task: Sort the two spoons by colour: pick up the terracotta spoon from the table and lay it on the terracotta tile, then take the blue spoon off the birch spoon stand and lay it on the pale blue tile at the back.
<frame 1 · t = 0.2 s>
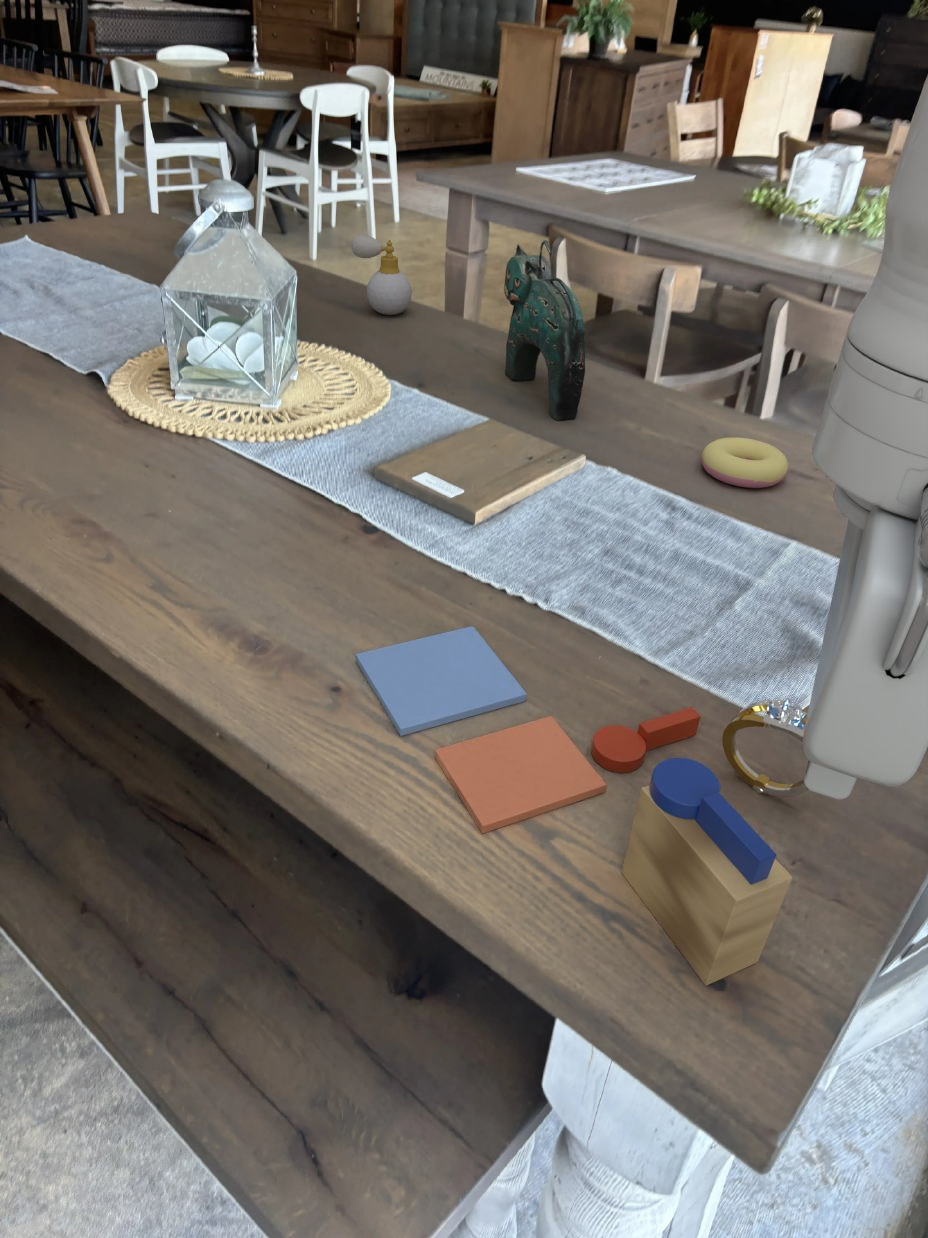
hand: (836, 716, 41), 21 cm above the table, tool pointing down, fingers open, 8 cm apart
donut: (740, 475, 110), on the table
terracotta spoon: (649, 743, 70), on the table
spoon stand: (686, 915, 57), on the table
ceramic cat: (540, 395, 127), on the table
blue spoon: (713, 830, 53), point 8 cm above the table, touching spoon stand
terracotta tile: (518, 774, 67), on the table
perfume bottle: (382, 314, 153), on the table
ring: (758, 790, 67), on the table
blue tile: (439, 680, 75), on the table
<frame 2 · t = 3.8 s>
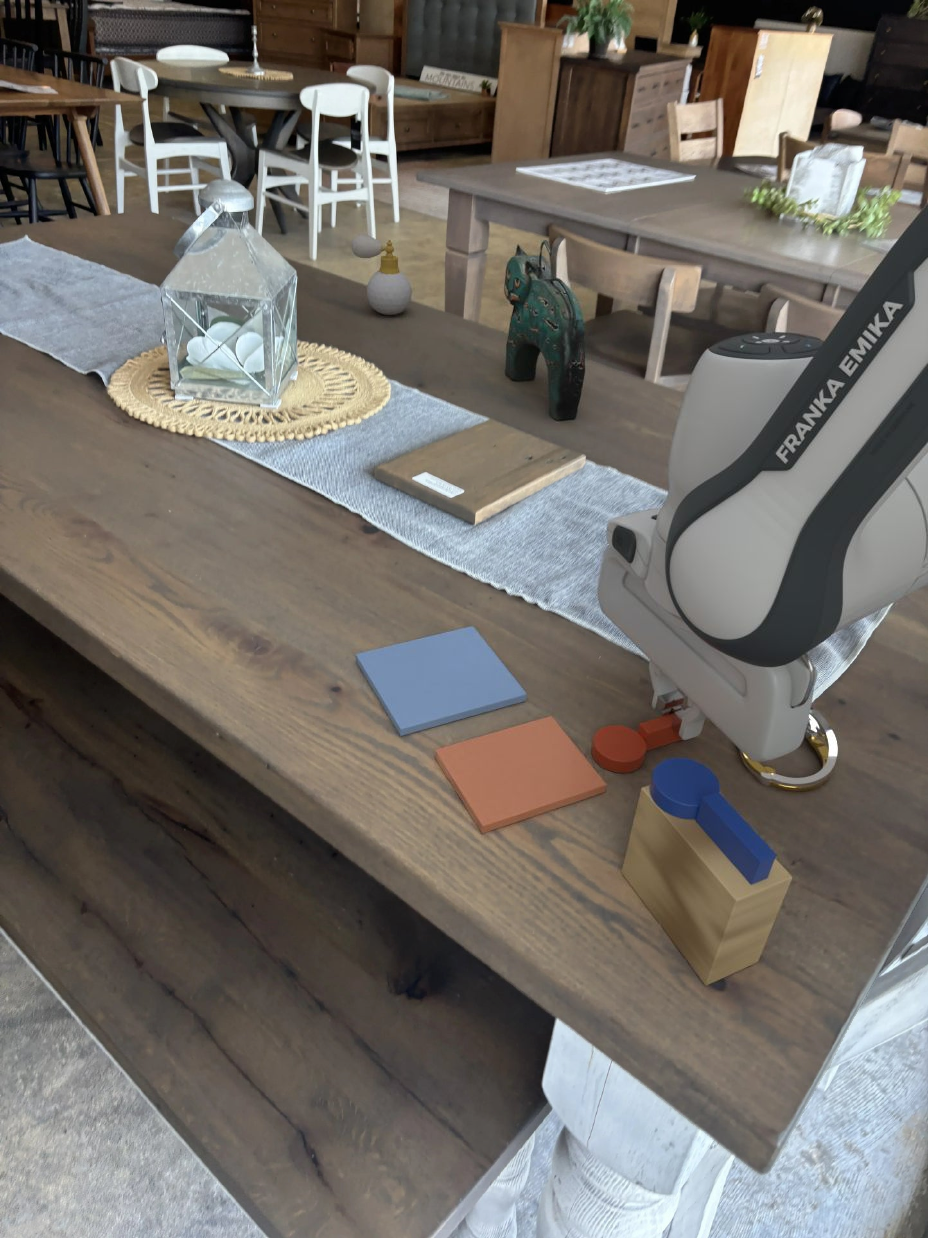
hand: (674, 721, 70), 2 cm above the table, tool pointing down, fingers closed on terracotta spoon, 1 cm apart
terracotta spoon: (650, 743, 70), on the table, touching gripper
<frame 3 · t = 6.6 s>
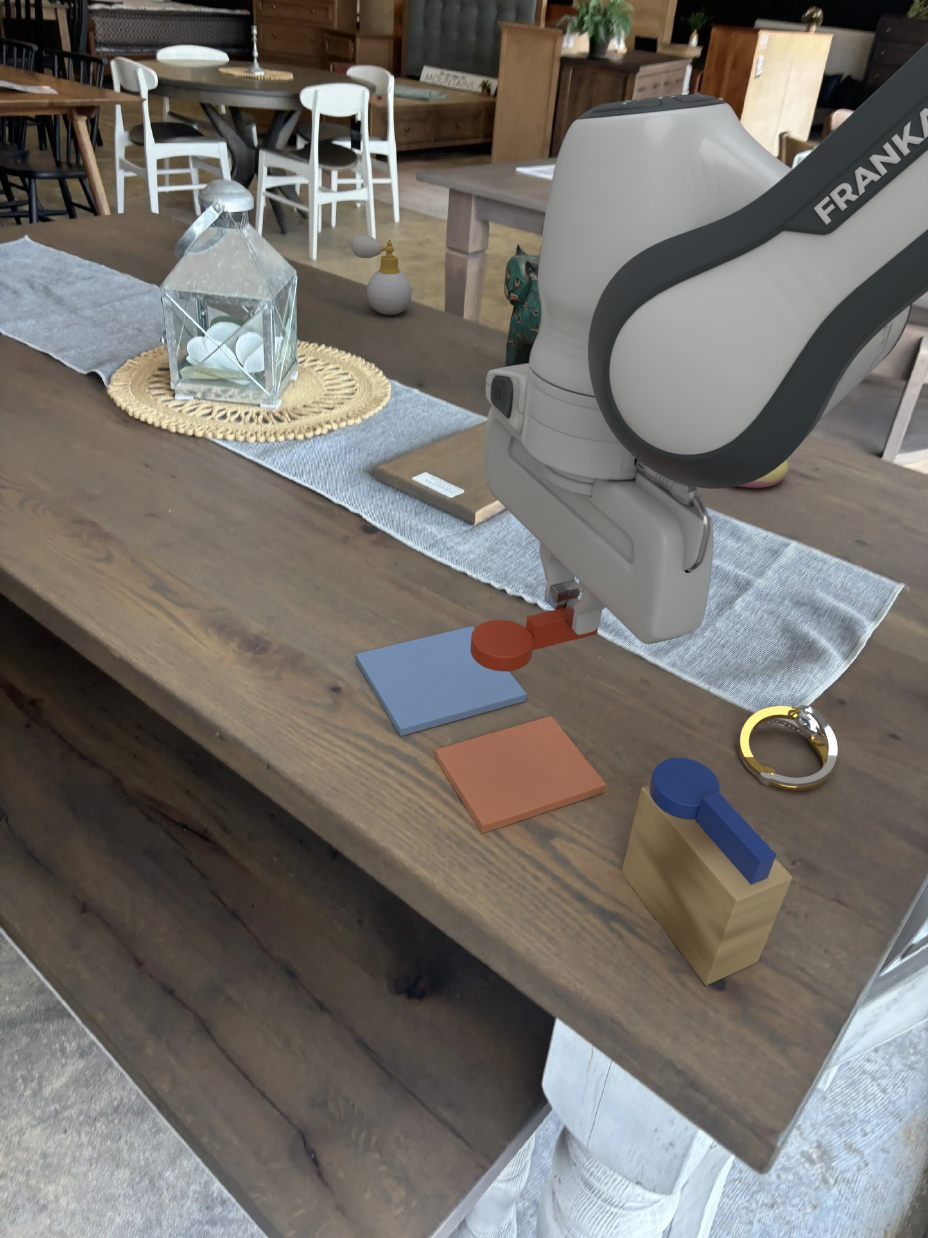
hand: (570, 616, 60), 14 cm above the table, tool pointing down, fingers closed on terracotta spoon
terracotta spoon: (541, 642, 60), point 12 cm above the table, touching gripper
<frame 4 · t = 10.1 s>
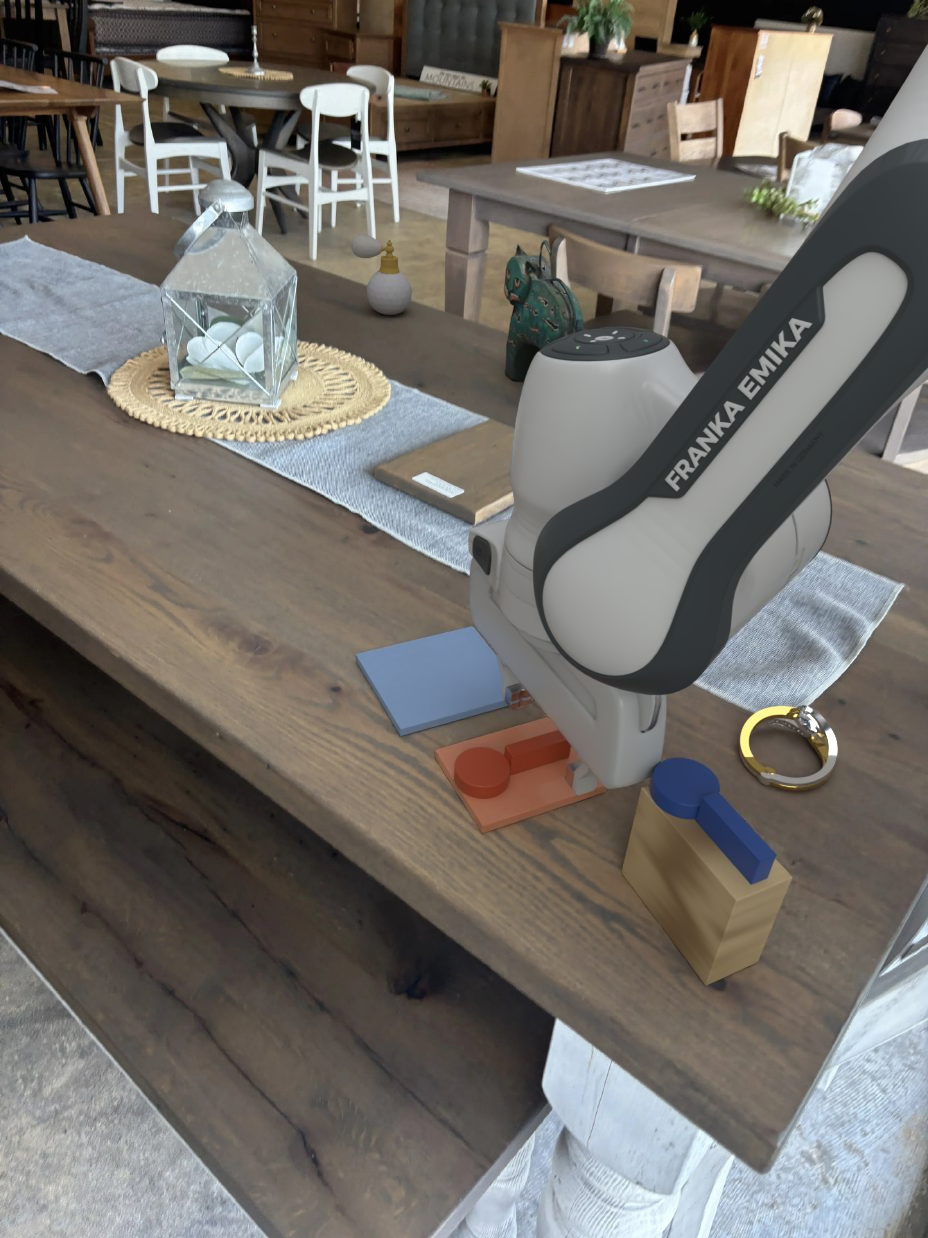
hand: (546, 742, 66), 2 cm above the table, tool pointing down, fingers open, 8 cm apart
terracotta spoon: (518, 767, 66), point 1 cm above the table, touching terracotta tile
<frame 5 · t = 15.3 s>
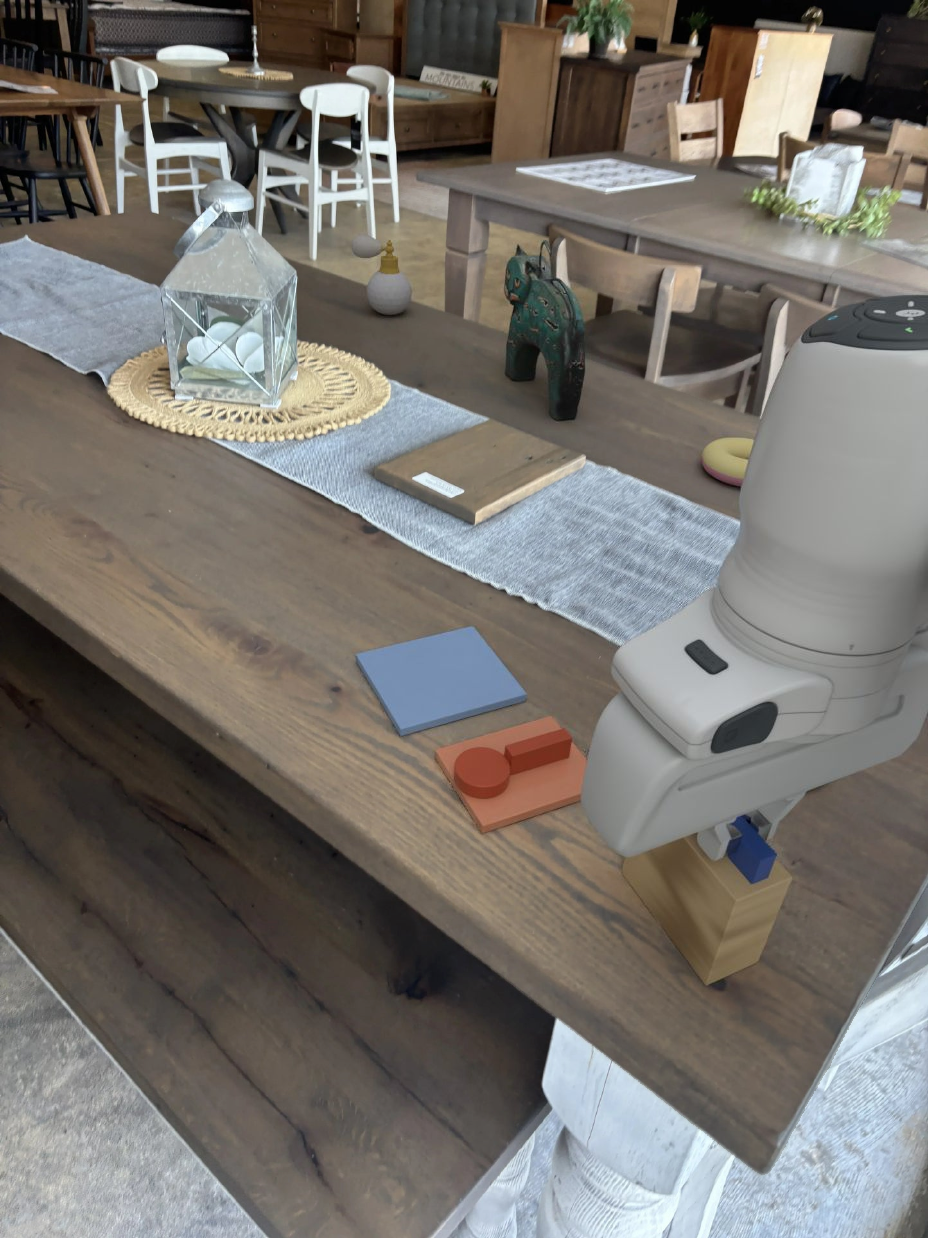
hand: (733, 842, 51), 9 cm above the table, tool pointing down, fingers closed on blue spoon, 1 cm apart
blue spoon: (714, 829, 53), point 8 cm above the table, touching gripper, spoon stand
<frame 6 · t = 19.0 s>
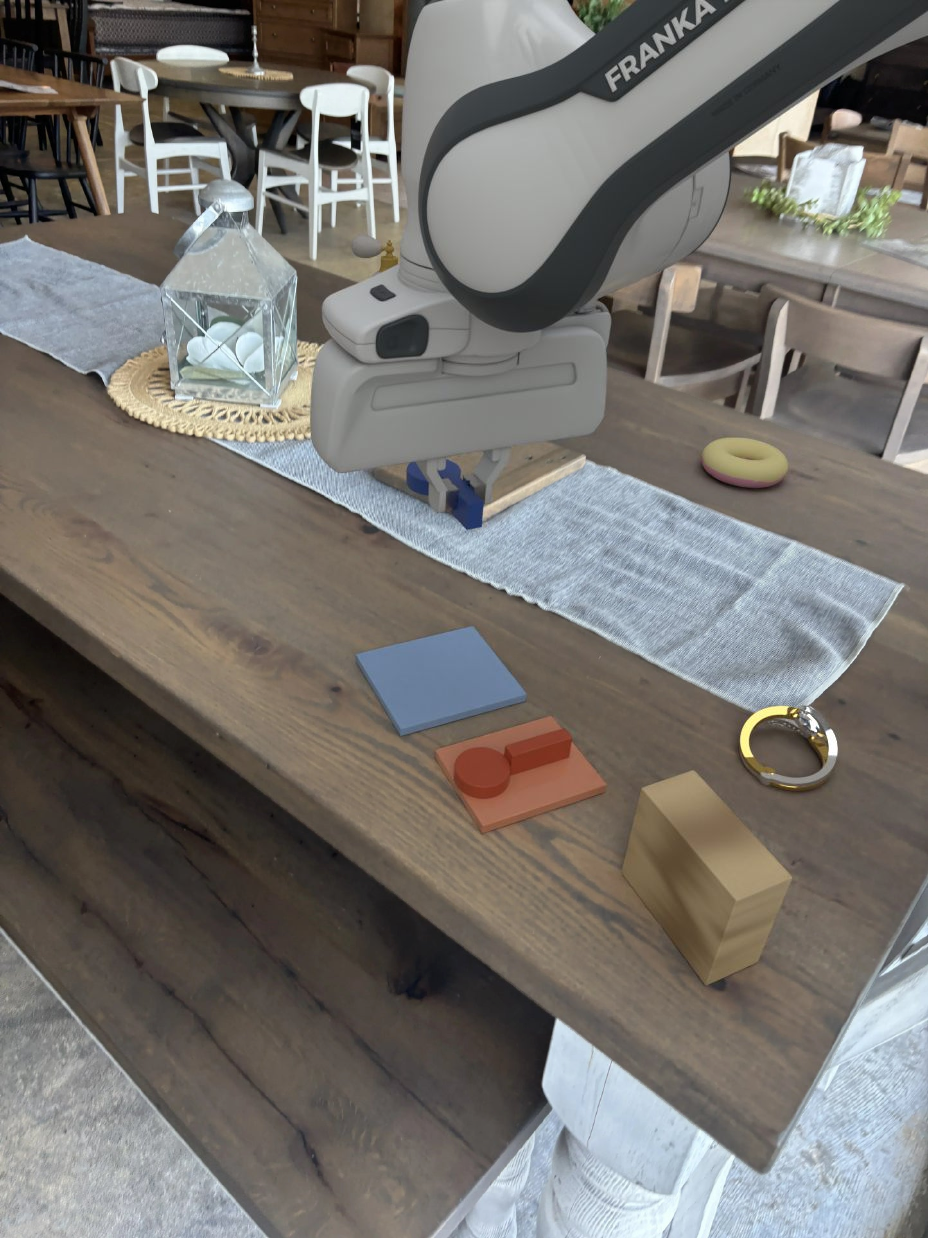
hand: (459, 505, 63), 17 cm above the table, tool pointing down, fingers closed on blue spoon
blue spoon: (450, 502, 65), point 17 cm above the table, touching gripper
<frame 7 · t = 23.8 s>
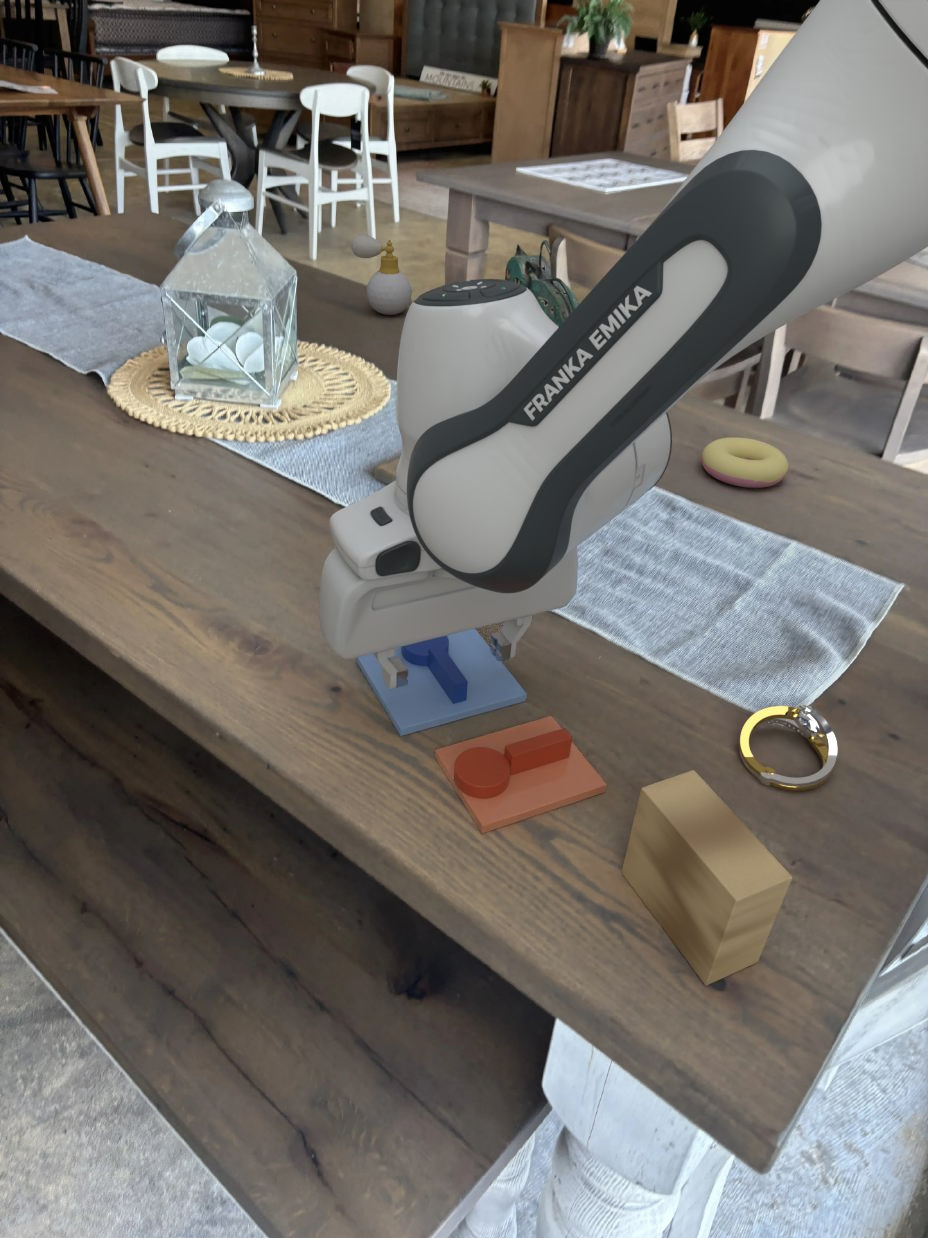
hand: (449, 668, 72), 2 cm above the table, tool pointing down, fingers open, 8 cm apart
blue spoon: (439, 672, 74), point 1 cm above the table, touching blue tile
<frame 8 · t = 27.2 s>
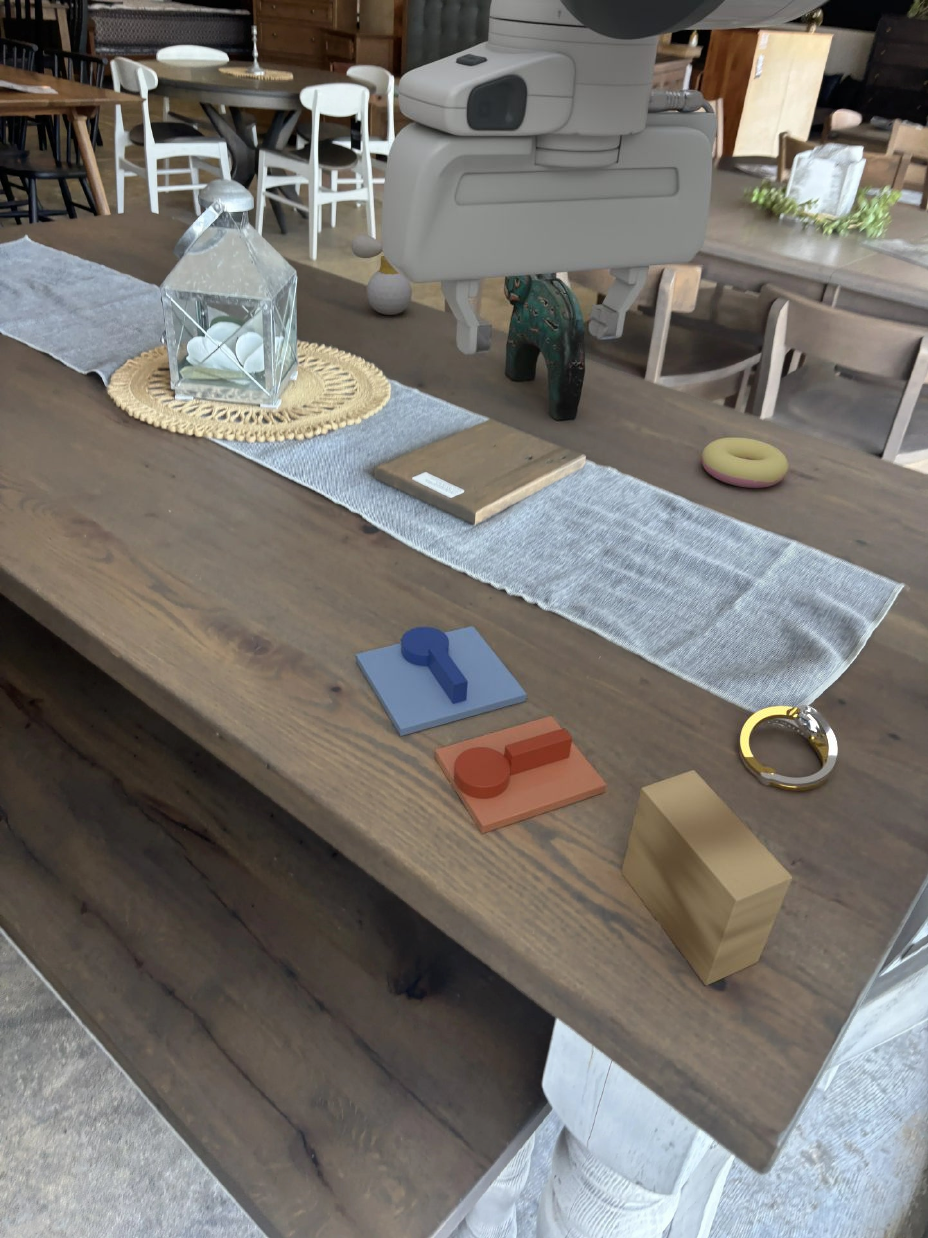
hand: (540, 343, 57), 29 cm above the table, tool pointing down, fingers open, 8 cm apart
at the end: terracotta spoon inside the target area on the terracotta tile (0.1 cm from its centre), point 0.8 cm above the terracotta tile's base; blue spoon inside the target area on the blue tile (0.1 cm from its centre), point 0.8 cm above the blue tile's base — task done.
